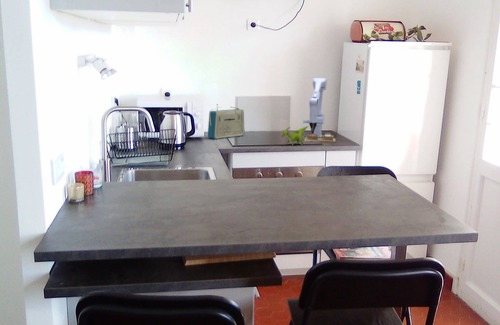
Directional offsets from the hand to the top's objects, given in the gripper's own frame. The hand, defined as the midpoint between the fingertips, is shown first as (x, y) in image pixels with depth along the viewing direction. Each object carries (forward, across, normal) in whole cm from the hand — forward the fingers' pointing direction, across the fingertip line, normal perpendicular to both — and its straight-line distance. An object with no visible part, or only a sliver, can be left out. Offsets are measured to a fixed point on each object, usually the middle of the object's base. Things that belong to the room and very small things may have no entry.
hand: (312, 133), depth 351 cm
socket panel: (+5, +6, 0) cm, 8 cm away
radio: (+5, -63, -5) cm, 63 cm away
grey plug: (+3, +11, 0) cm, 11 cm away
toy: (+5, -12, -21) cm, 25 cm away
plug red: (+4, 0, 0) cm, 4 cm away
